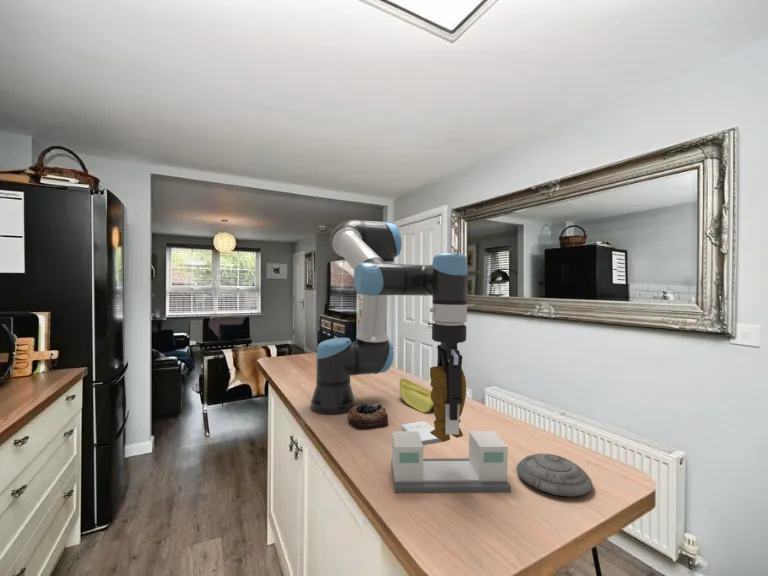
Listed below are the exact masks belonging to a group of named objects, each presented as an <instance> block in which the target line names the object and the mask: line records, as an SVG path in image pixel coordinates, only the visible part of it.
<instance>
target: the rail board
mask: <svg viewBox="0 0 768 576" xmlns="http://www.w3.org/2000/svg"><path fill="white" fill-rule="evenodd" d="M391 436H392V440H391V441H392V443H391V444H392V446H391V448H392V449H391V450H392V451H391V453H392V454H391V456H392V457H391V468H392V478H393V480H392V481H393V486H394V493H396V494H397V493H401V494H402V493H409V494H411V493H412V494H413V493H497V492H498V493H500V492H501V493H503V492H506V493H511V492H512V486H511V485H510V483H509V482H508V456H509V455H508V452H509V451H508V450H509V448H508V447H509V446H508V445H507V444H506V443H505V442H504V440H502V438H501V437H500V436H499V434H497V432H496V431H495V430H472V431H471V430H469V431H468V458H424V445H423V444H422V441H421V438H420V435H419V432H418V431H404V430H400V431H399V430H398V431H396V430H395V431H394V430H393V431H392V435H391Z"/></svg>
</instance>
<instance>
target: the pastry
mask: <svg viewBox="0 0 768 576" xmlns="http://www.w3.org/2000/svg"><path fill="white" fill-rule="evenodd" d="M347 419H348V422H349V423H350V426H352V427H353V428H355V429H356V430H357V431H362V430H372V429H378V428H380V429H381V428H386V427H388V426H389V414H388V412H387V411H386V408H384V407H383V405H381V404H380V403H374V404H370V405H368V403H366V402H362V404H361V405H360V406H359V405H355V407H353V408H352V409H350V410H349V411H348V414H347Z"/></svg>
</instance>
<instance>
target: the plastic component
mask: <svg viewBox="0 0 768 576" xmlns="http://www.w3.org/2000/svg"><path fill="white" fill-rule="evenodd" d="M398 388H399V392H400V396H401V399H402V400H403V401H404V403H406V404H407V405H409V406H410V407H412V408H413V409H415V410H417V411H418V412H420V413H424V414H426V413H428V412H430V411H431V410H432V408H433V406H434V405H435V404H434V403H433V401H432V400H431V391H432V390H429V389H428V388H425V387H423V386H422V385H421V386H420V385H418V384H416V383H415V382H412V381H410V380H408V379H405V378H404V377H401V378H400V379H399V387H398Z"/></svg>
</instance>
